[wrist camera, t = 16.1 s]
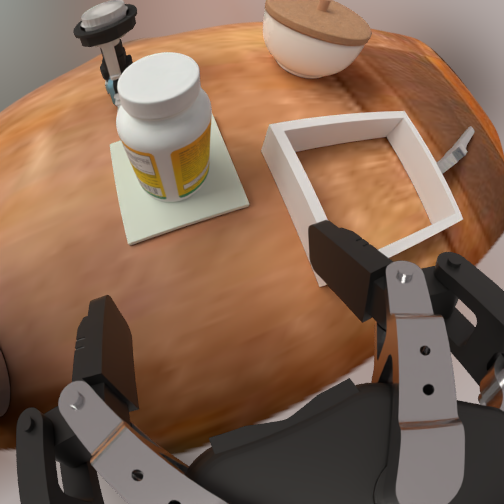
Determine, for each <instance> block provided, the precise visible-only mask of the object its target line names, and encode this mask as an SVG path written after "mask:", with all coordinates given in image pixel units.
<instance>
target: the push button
mask: <svg viewBox="0 0 504 504" xmlns="http://www.w3.org/2000/svg"><path fill="white" fill-rule="evenodd" d="M136 14H137V8H136V7H135V6H134V5H130V4H124V1H123V0H112V1H108V2H104V3H101V4H99V5H97V6H94V7H92V8H91V9H89V10H88V11H86V12H85V13H84V14H83V15H82V21H81V22H79V23H78V24H77V26H76V27H75V28H74V35H75V37H76V38H80V40H81V43H82V46H85V47H92V46H95V47H100V49H101V52H102V56H103V60H102V64H101V66H100V70H101V73H102V76H103V78H104V80H106V82H105V86H106V90H107V92H108V94H109V93H110V95H111V98H112V101H113V104H115V106H118V110H119V108H120V106H121V101H120V97H119V93H118V89H117V84H118V80H119V78H120V76H121V74H122V73H123V72H124V70H125V69H126V68H127V67H129V66H130V65H131V64H132V63H133V62H132V57H131V55H126V52H125V48H124V47H123V46H122V42H121V39H120V38H121V37H123V36H124V35H125V34H126V33H127V32H129V31H130V30H131V29H133V27H134V26H135V24H136V21H135V16H136Z"/></svg>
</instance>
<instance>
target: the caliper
mask: <svg viewBox="0 0 504 504" xmlns="http://www.w3.org/2000/svg"><path fill="white" fill-rule="evenodd" d="M474 132H475V131H474V130H473V128H472V127H471V126H470V127H469V128H468V129H467V130H466V131H465V132H464V133H463V134H462V136H461V137H460V138H459V139H458V141H457V142H456V143H455V144H454V146H453V147H452V148H451V149H450V150H449V151H447V153H446V154H445V156H444V157H443V158H442V159H440V160H439V161H438V162H437V165H438V167H439V169H440V171H441V173H442V174H443V173H444V172H445V171H447V170H448V169H449V168H451V167H452V166H453V165H454V164H456V163H457V162H458V161H459V160H460V159H461V158H462V157H464V156H465V155H466V153H467V150H466V147H467V146H466V145H467V144H468V142H469V140H470V139H471V137H472V135H473V134H474Z"/></svg>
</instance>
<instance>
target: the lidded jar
mask: <svg viewBox="0 0 504 504" xmlns="http://www.w3.org/2000/svg"><path fill="white" fill-rule="evenodd" d="M371 34H372V32H371V29H370V27H369V25H368V24H367V23H366V22H365V20H364V19H362V18H361V17H360V16H359V15H358V14H356V13H355V12H353V11H352V10H350V9H349V8H347V7H345V6H343V5H341V4H339V3H337V2H335V1H333V0H266V3H265V13H264V19H263V37H264V41H265V44H266V47H267V49H268V50H269V52H270V54H271V55H272V56H273V57H274V58H275V59H276V62H277V63H278V64H279V66H281V67H282V68H283V69H284V70H286V71H287V72H289V73H291V74H294V75H296V76H299V77H303V78H309V79H316V78H321V77H323V76H328V75H332V74H335V73H338V72H340V71H342V70H344V69H345V68H346V67H348V66H349V65H350V64H351V63H352V62H353V61H354V60H355V59H356V58H357V56H358V55H359V53H360V52H361V50H362V49H363V47H364V45H365V44H366V43H367V42H368V40H369V39H370V37H371Z"/></svg>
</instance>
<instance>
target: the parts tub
mask: <svg viewBox="0 0 504 504" xmlns="http://www.w3.org/2000/svg"><path fill="white" fill-rule="evenodd" d="M382 137H387V139H388V140H389V142H390V143H391V145H392V147H393V149H394V150H395V152H396V154H397V155H398V157H399V159H400V161H401V162H402V164H403V166H404V168H405V170H406V172H407V174H408V175H409V177H410V179H411V181H412V183H413V185H414V187H415V189H416V191H417V193H418V195H419V197H420V199H421V202H422V204H423V206H424V208H425V210H426V213H427V215H428V217H429V219H430V222H431V224H432V225H430V226H428V227H426V228H424V229H422V230H420V231H418V232H416V233H413V234H411V235H409V236H407V237H405V238H403V239H401V240H398V241H396V242H394V243H392V244H390V245H387V246H385V247H383V248H381V249H378V250H379V251H380V252H381V253H383V254H384V255H385V256H386V257H388V258H390V257H392V256H394V255H396V254H398V253H400V252H402V251H404V250H406V249H408V248H410V247H412V246H414V245H416V244H418V243H420V242H422V241H423V240H425V239H427V238H429V237H431V236H433V235H435V234H437V233H439V232H441V231H442V230H444V229H446V228H448V227H450V226H452V225H453V224H455V223H457V222H459V221H461V220H462V219H463V218H462V215H461V213H460V211H459V208H458V206H457V204H456V201H455V199H454V197H453V195H452V193H451V191H450V189H449V186H448V184H447V182H446V180H445V178H444V176H443V175H442V173H441V171H440V169H439V167H438V165H437V163H436V161H435V160H434V158H433V156H432V154H431V153H430V151H429V149H428V147H427V146H426V144H425V142H424V141H423V139H422V137H421V136H420V134H419V133H418V131H417V129H416V128H415V126H414V125H413V123H412V122H411V120H410V119H409V117H408V116H407V114H406V113H405V112H404V111H393V112H369V113H354V114H342V115H332V116H323V117H315V118H307V119H300V120H293V121H287V122H280V123H275V124H269V127H268V130H267V133H266V136H265V140H264V143H263V146H262V150H261V152H262V154H263V156H264V158H265V160H266V163H267V165H268V167H269V169H270V171H271V173H272V176H273V178H274V180H275V182H276V184H277V187H278V189H279V191H280V193H281V196H282V198H283V200H284V202H285V205H286V207H287V209H288V212H289V214H290V216H291V218H292V221H293V223H294V226H295V228H296V230H297V233H298V235H299V237H300V240H301V242H302V245H303V247H304V249H305V252H306V254H307V257H308V259H309V262H310V258H309V240H308V227H309V226H310V225H312V224H315V223H318V222H321V221H324V220H328V219H327V217H326V215H325V213H324V211H323V208H322V206H321V204H320V202H319V200H318V198H317V195H316V193H315V191H314V189H313V187H312V185H311V183H310V181H309V179H308V177H307V175H306V173H305V171H304V169H303V167H302V165H301V163H300V161H299V159H298V157H297V155H296V153H295V152H298V151H303V150H308V149H313V148H318V147H324V146H329V145H335V144H341V143H347V142H353V141H360V140H367V139H374V138H382ZM310 264H311V263H310ZM311 267H312V265H311ZM312 269H313V268H312ZM313 272H314V274H315V277H316V279H317V282H318V284H319V287H321V286H325V285H327V284H326V283H325V282H324V281H323V280H322V279H321V277H320V276H319V275H318V274H317V273H316V272H315V271H314V269H313Z"/></svg>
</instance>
